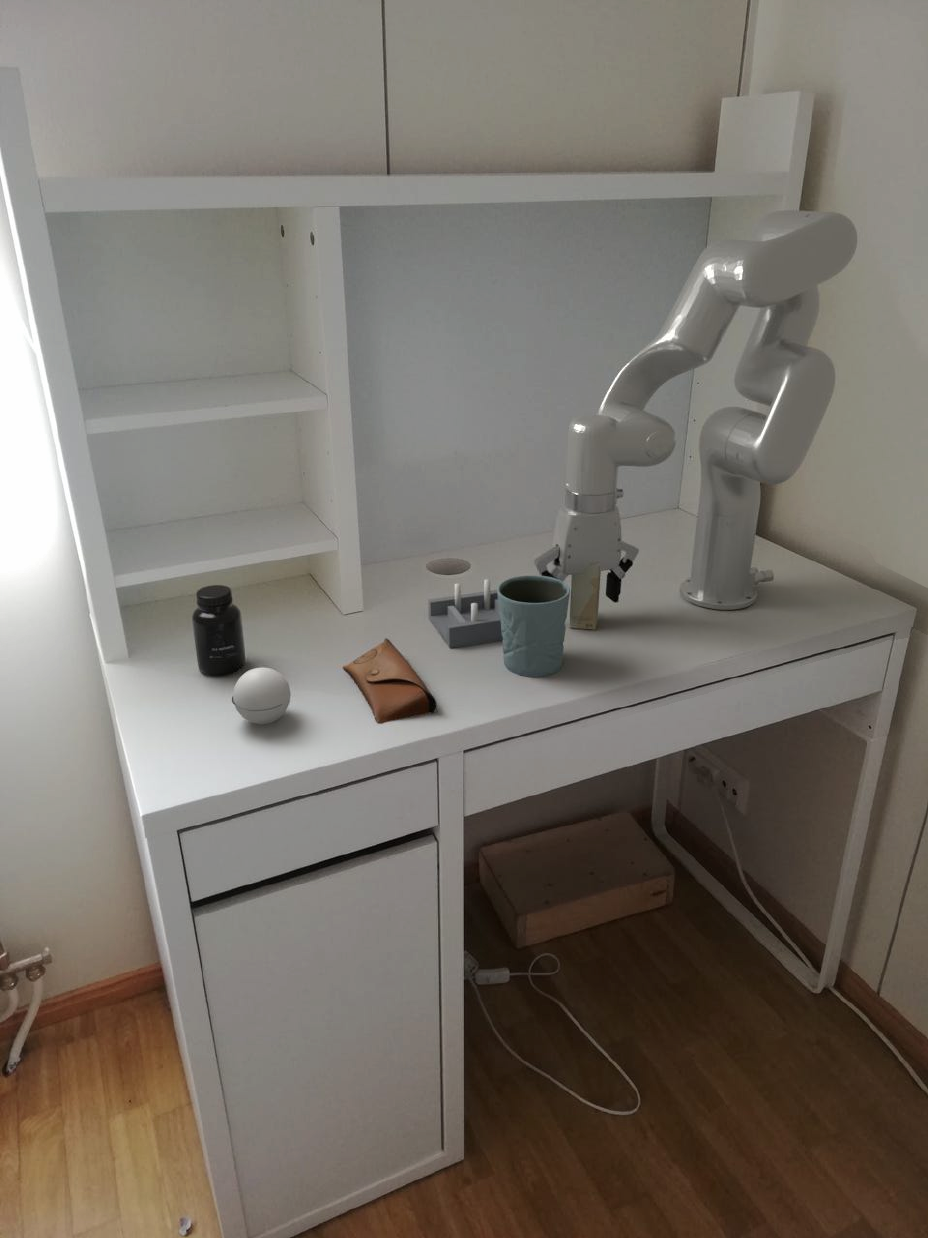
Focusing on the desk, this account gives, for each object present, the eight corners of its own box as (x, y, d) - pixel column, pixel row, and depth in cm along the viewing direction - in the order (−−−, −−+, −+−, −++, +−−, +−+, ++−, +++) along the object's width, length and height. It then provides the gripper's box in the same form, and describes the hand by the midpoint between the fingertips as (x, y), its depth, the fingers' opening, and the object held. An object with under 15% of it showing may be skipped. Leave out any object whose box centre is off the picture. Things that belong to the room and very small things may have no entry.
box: (595, 630, 143) (600, 565, 138) (568, 628, 143) (571, 563, 139) (598, 616, 147) (602, 552, 143) (571, 614, 148) (574, 550, 143)
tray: (509, 606, 151) (510, 573, 148) (535, 634, 141) (536, 599, 139) (428, 618, 147) (427, 584, 144) (449, 648, 137) (449, 612, 135)
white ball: (252, 702, 123) (246, 654, 120) (302, 710, 122) (297, 661, 118) (214, 741, 115) (206, 690, 112) (266, 750, 113) (260, 699, 110)
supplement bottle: (222, 682, 128) (212, 605, 123) (188, 670, 132) (177, 594, 127) (256, 662, 134) (248, 587, 129) (223, 651, 137) (213, 578, 132)
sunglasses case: (337, 665, 133) (357, 625, 131) (377, 678, 136) (398, 640, 135) (377, 726, 118) (400, 682, 116) (421, 739, 121) (444, 696, 120)
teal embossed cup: (579, 669, 131) (584, 593, 126) (521, 687, 127) (522, 609, 122) (540, 642, 139) (542, 569, 134) (483, 657, 135) (484, 583, 130)
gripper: (629, 486, 142) (622, 587, 150) (527, 498, 137) (524, 601, 145) (653, 501, 136) (644, 605, 143) (547, 513, 131) (543, 620, 138)
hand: (584, 603), depth 144 cm, fingers open, 9 cm apart
